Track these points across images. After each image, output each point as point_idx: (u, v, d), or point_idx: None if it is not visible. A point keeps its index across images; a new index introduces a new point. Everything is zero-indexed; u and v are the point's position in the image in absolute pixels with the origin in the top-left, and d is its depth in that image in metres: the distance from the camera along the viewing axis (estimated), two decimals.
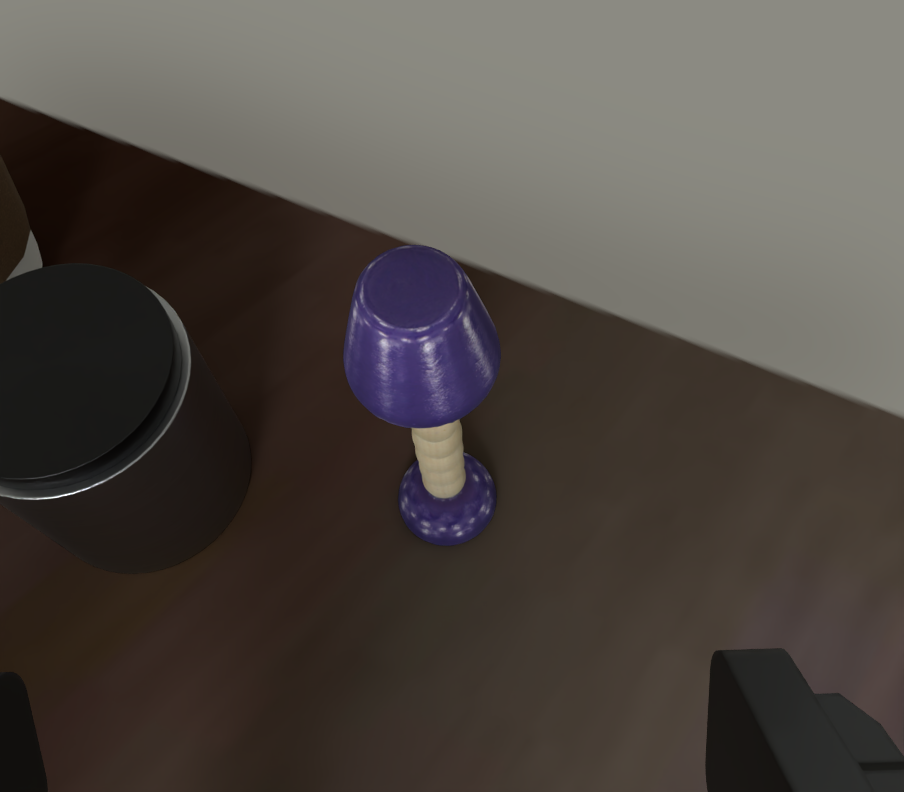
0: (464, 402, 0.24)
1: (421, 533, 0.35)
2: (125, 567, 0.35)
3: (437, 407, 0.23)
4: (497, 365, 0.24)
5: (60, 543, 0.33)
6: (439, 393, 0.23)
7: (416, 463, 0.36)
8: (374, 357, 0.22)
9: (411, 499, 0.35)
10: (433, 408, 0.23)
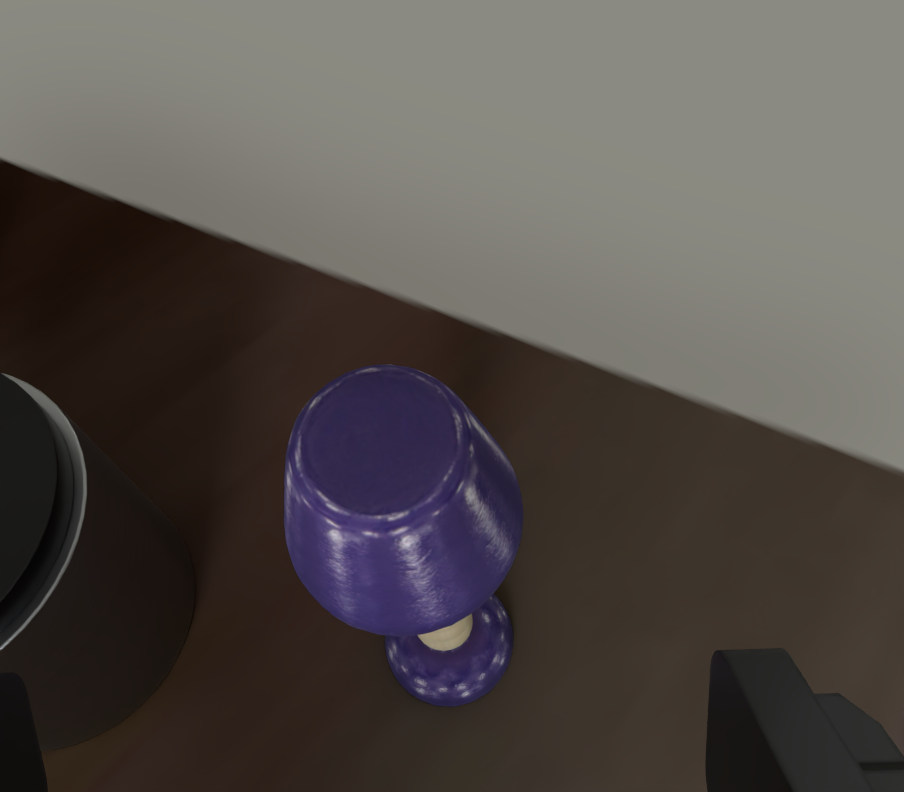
0: (469, 601, 0.15)
1: (415, 692, 0.27)
2: None
3: (427, 614, 0.15)
4: (519, 534, 0.16)
5: None
6: (429, 596, 0.14)
7: None
8: (323, 551, 0.14)
9: (401, 648, 0.27)
10: (420, 615, 0.15)
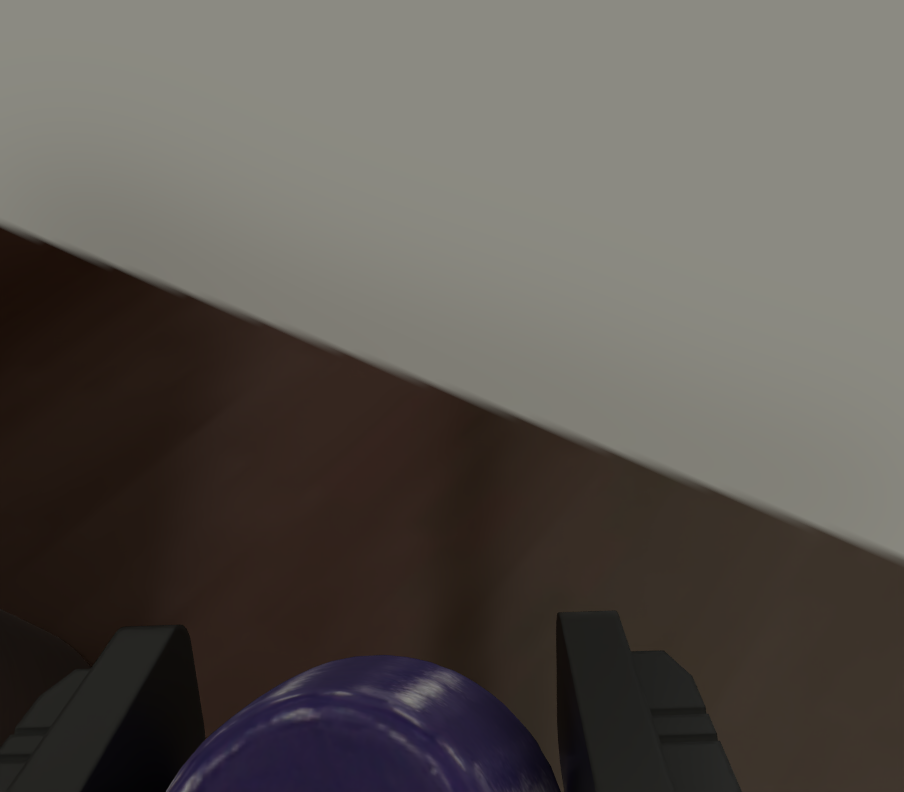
0: None
1: None
2: None
3: None
4: None
5: None
6: None
7: None
8: None
9: None
10: None
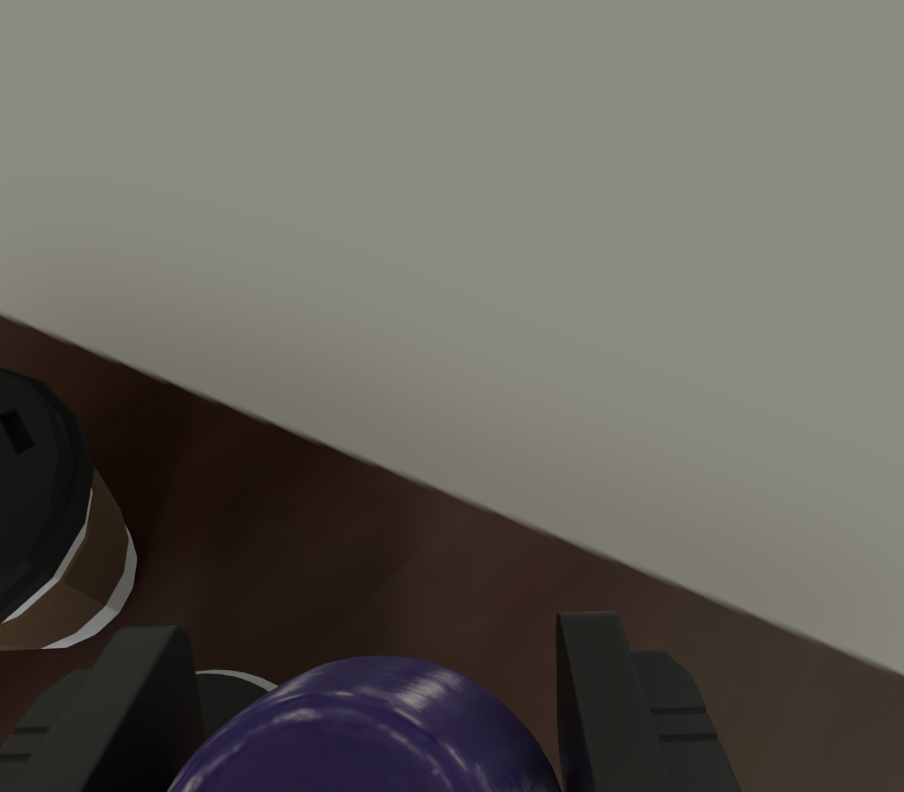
0: None
1: None
2: None
3: None
4: None
5: None
6: None
7: None
8: None
9: None
10: None
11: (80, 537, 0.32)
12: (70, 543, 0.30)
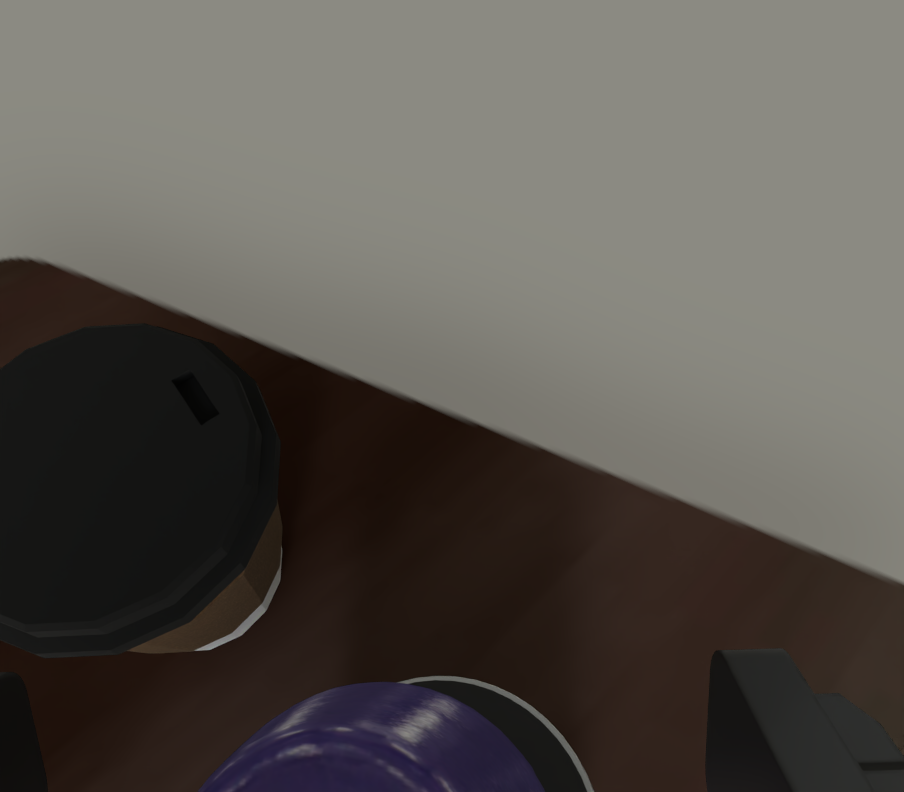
0: None
1: None
2: None
3: None
4: None
5: None
6: None
7: None
8: None
9: None
10: None
11: None
12: (263, 528, 0.26)
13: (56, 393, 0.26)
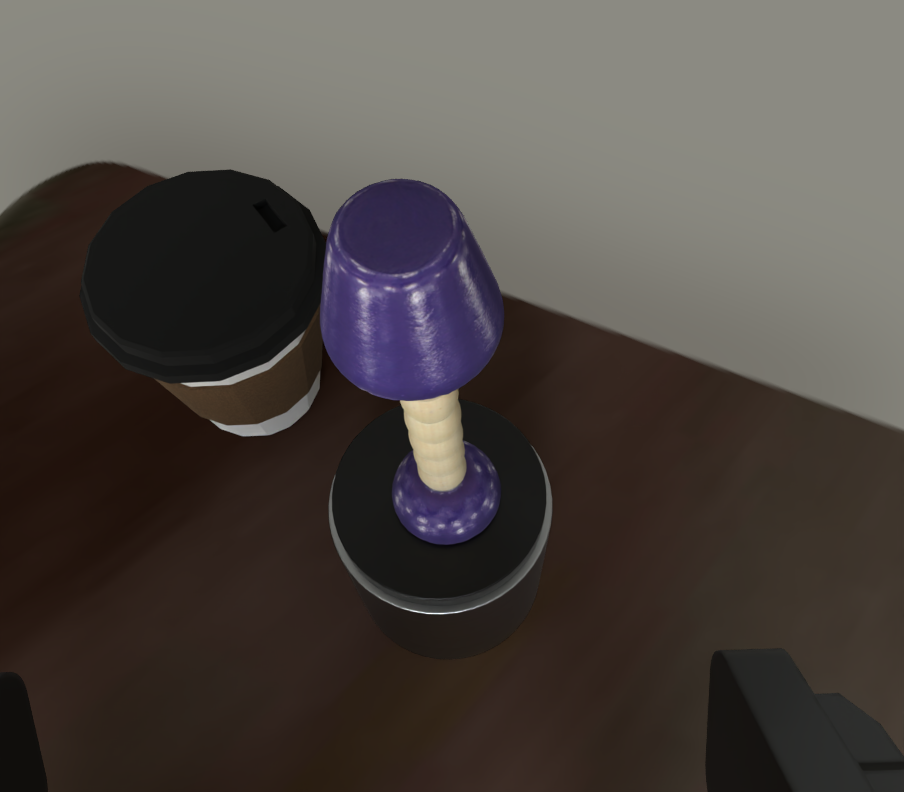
0: (462, 369, 0.20)
1: (418, 531, 0.32)
2: (449, 655, 0.39)
3: (430, 374, 0.20)
4: (500, 326, 0.21)
5: (406, 638, 0.37)
6: (431, 356, 0.19)
7: (411, 453, 0.32)
8: (353, 312, 0.18)
9: (406, 492, 0.31)
10: (425, 375, 0.20)
11: None
12: (318, 304, 0.37)
13: (171, 213, 0.37)
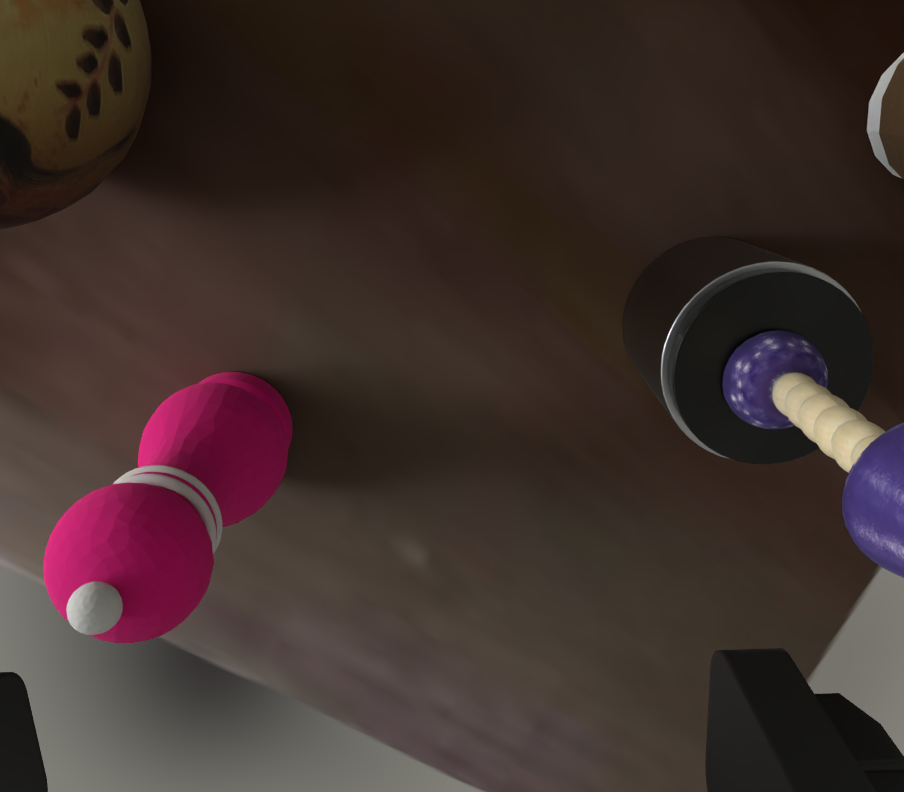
0: (865, 549, 0.23)
1: (736, 359, 0.35)
2: (626, 329, 0.44)
3: (862, 528, 0.23)
4: None
5: (642, 303, 0.42)
6: (878, 540, 0.22)
7: (814, 356, 0.34)
8: None
9: (774, 354, 0.34)
10: (862, 524, 0.23)
11: None
12: None
13: None
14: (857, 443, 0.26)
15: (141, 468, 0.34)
